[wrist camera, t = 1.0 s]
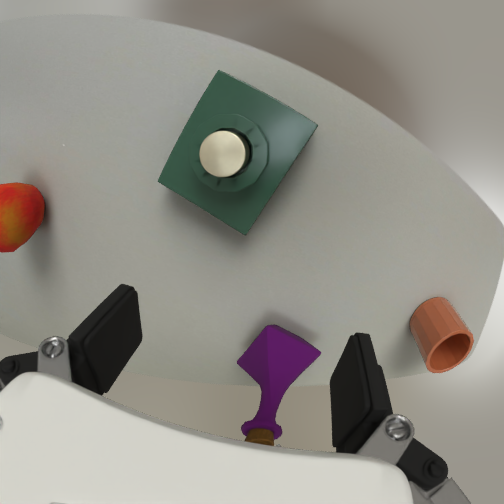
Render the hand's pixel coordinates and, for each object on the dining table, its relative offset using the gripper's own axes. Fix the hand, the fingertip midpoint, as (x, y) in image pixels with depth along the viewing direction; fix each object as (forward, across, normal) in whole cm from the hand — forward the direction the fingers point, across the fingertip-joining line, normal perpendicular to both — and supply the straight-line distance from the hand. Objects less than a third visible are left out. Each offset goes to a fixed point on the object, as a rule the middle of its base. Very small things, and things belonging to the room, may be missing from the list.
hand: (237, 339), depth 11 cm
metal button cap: (+14, +4, -6) cm, 16 cm away
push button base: (+18, +4, -6) cm, 20 cm away
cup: (+19, -23, +9) cm, 31 cm away
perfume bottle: (+19, -4, +16) cm, 25 cm away
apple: (+18, +34, +3) cm, 39 cm away
